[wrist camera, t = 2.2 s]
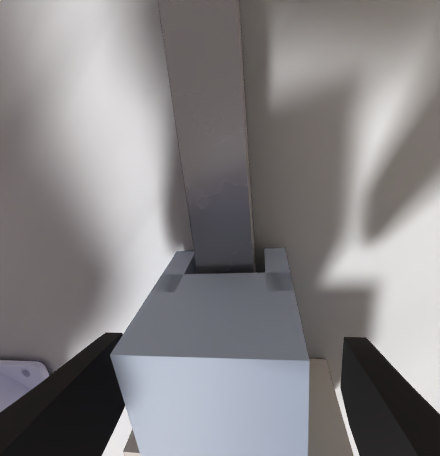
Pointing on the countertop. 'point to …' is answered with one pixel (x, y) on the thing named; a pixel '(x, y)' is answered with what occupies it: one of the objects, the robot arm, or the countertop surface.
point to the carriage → (217, 363)
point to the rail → (211, 129)
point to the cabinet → (318, 417)
